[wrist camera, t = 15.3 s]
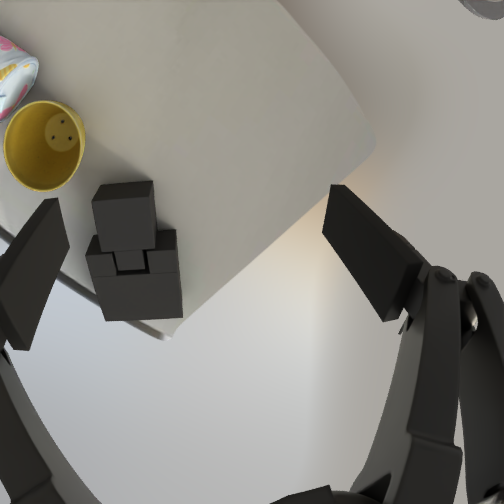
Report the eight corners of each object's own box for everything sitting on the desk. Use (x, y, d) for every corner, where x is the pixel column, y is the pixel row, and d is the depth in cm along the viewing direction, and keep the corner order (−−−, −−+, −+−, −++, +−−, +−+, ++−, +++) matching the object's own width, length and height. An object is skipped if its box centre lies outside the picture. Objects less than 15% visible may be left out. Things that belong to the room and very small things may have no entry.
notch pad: (175, 229, 42) (175, 249, 38) (181, 295, 49) (183, 317, 45) (93, 235, 40) (84, 255, 35) (109, 299, 46) (105, 321, 42)
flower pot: (29, 168, 32) (5, 190, 26) (31, 93, 27) (3, 102, 21) (96, 171, 35) (80, 194, 29) (103, 93, 30) (85, 100, 24)
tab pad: (153, 180, 37) (149, 196, 33) (159, 247, 43) (157, 268, 39) (100, 184, 36) (91, 201, 32) (112, 250, 41) (106, 271, 37)
